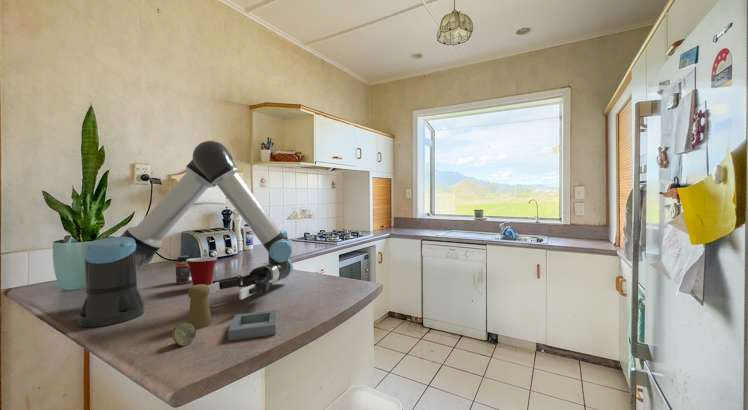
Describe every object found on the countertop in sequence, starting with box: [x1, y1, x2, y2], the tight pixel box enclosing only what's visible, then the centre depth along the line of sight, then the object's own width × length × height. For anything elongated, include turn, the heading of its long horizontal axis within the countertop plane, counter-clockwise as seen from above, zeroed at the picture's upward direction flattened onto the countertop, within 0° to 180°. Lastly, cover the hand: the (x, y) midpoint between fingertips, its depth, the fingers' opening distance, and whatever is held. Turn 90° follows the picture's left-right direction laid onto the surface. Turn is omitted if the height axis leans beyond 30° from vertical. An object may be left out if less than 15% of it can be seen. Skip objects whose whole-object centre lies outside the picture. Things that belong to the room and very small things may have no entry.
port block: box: [227, 309, 278, 342], centre depth 82 cm, size 11×11×2 cm
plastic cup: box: [186, 257, 218, 286], centre depth 122 cm, size 11×11×12 cm
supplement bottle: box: [175, 255, 193, 285], centre depth 131 cm, size 6×6×11 cm
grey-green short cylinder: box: [171, 321, 197, 347], centre depth 74 cm, size 4×5×5 cm
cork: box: [187, 284, 213, 330], centre depth 85 cm, size 6×6×11 cm
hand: (221, 293), depth 92 cm, fingers open, 13 cm apart
